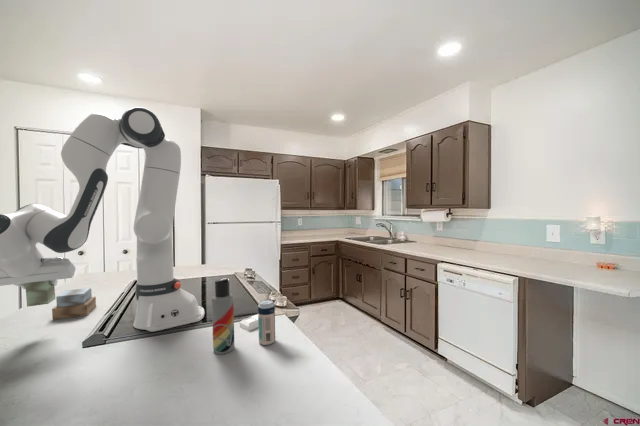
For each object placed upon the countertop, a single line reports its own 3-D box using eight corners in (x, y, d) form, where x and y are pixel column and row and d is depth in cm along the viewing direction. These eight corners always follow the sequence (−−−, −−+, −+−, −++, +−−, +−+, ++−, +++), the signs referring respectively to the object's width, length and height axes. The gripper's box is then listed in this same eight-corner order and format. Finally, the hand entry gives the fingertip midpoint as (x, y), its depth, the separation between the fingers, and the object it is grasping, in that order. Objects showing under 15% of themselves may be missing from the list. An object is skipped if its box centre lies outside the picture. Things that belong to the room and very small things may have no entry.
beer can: (278, 340, 85) (277, 300, 85) (269, 347, 81) (268, 305, 81) (265, 337, 87) (264, 298, 87) (255, 344, 83) (254, 303, 83)
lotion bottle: (222, 356, 77) (220, 282, 76) (208, 351, 80) (206, 280, 79) (238, 347, 81) (237, 277, 81) (225, 342, 84) (223, 275, 84)
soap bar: (270, 322, 99) (270, 315, 99) (248, 332, 92) (248, 324, 92) (261, 319, 102) (261, 311, 102) (239, 327, 95) (239, 320, 95)
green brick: (55, 298, 95) (52, 269, 94) (48, 303, 90) (45, 272, 89) (35, 301, 93) (33, 270, 92) (27, 306, 88) (24, 274, 87)
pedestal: (96, 306, 116) (95, 286, 115) (87, 315, 106) (86, 294, 106) (64, 310, 112) (63, 290, 111) (52, 319, 103) (51, 297, 102)
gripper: (69, 248, 88) (83, 272, 98) (-23, 255, 80) (2, 281, 90) (64, 265, 84) (79, 289, 94) (-33, 275, 76) (-6, 299, 86)
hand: (41, 285), depth 92 cm, fingers closed on green brick, 5 cm apart
